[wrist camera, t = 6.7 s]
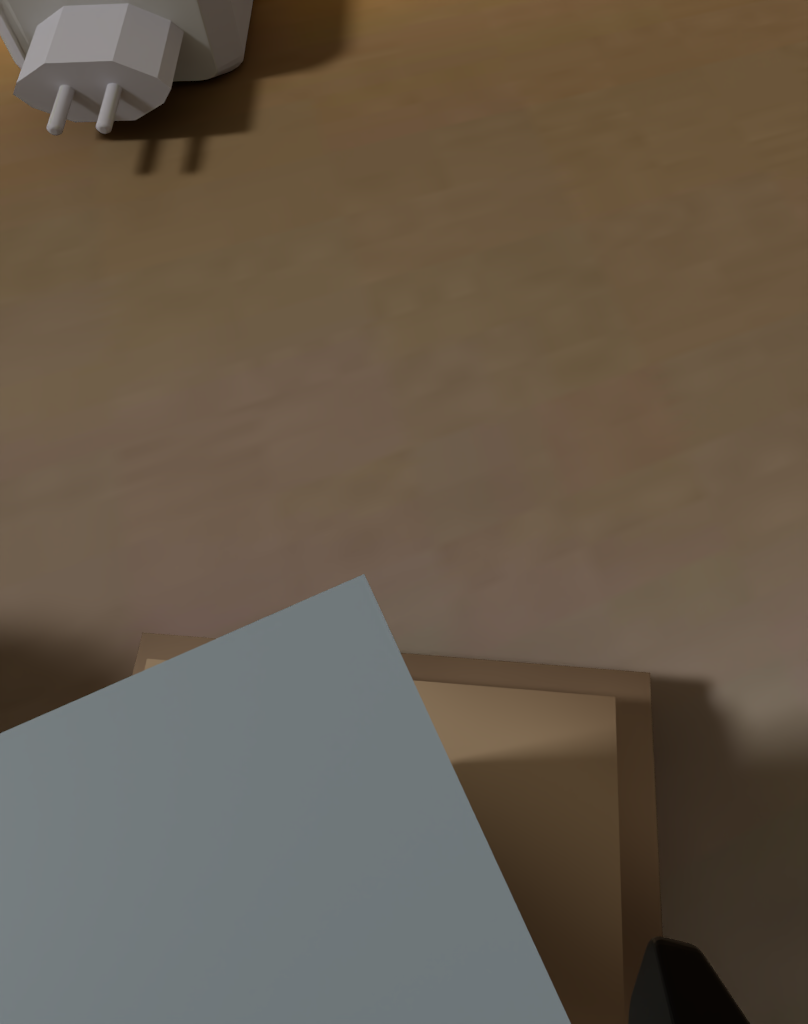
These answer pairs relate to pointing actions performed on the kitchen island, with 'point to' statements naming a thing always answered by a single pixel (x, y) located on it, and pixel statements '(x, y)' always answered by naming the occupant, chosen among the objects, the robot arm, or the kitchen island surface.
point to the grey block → (256, 845)
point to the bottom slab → (631, 763)
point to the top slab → (546, 823)
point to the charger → (117, 53)
